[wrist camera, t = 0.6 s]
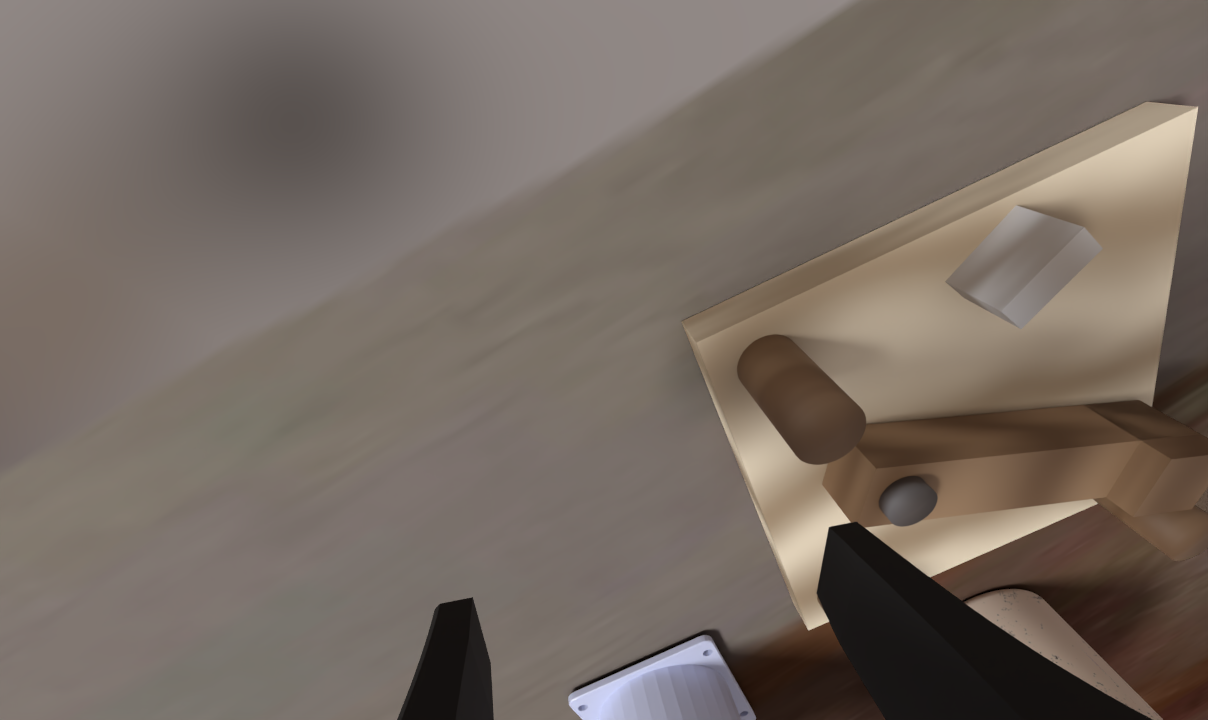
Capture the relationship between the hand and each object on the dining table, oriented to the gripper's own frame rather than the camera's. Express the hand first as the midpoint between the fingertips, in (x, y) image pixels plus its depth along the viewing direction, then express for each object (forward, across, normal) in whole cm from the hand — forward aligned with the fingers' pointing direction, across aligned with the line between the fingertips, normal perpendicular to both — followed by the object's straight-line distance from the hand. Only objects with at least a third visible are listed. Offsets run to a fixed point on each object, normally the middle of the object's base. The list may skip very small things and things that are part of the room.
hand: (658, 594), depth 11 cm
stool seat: (+10, -14, +5) cm, 18 cm away
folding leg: (+8, -16, +6) cm, 19 cm away
